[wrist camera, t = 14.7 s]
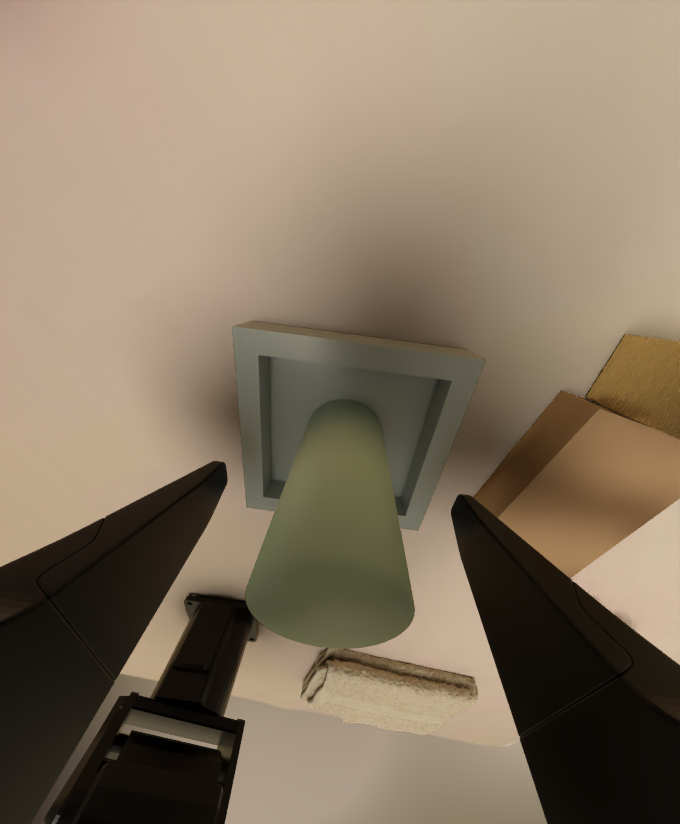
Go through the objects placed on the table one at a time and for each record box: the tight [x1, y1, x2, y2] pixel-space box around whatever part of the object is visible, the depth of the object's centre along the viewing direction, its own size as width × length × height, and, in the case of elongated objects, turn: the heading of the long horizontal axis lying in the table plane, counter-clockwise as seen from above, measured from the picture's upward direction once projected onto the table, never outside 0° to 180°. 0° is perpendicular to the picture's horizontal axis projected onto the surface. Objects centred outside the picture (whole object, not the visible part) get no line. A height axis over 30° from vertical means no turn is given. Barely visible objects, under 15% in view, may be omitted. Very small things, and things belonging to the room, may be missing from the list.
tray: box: [232, 321, 486, 531], centre depth 12 cm, size 10×10×2 cm
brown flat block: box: [473, 391, 680, 578], centre depth 14 cm, size 10×7×2 cm
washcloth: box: [300, 648, 478, 735], centre depth 27 cm, size 12×18×3 cm, turn 74°
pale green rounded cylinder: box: [245, 399, 415, 649], centre depth 9 cm, size 4×4×8 cm
